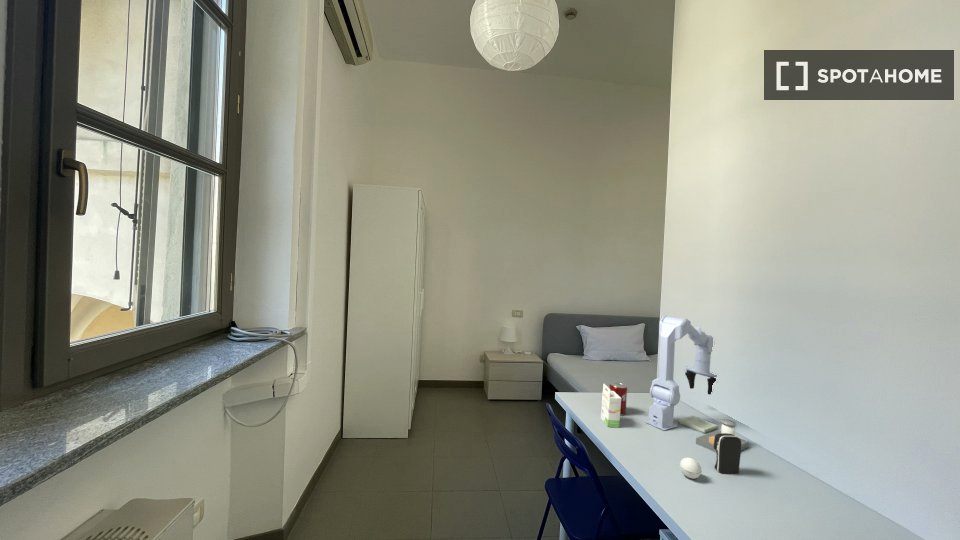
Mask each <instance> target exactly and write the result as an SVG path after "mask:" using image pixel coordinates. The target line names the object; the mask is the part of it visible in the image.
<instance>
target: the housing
mask: <svg viewBox="0 0 960 540" xmlns="http://www.w3.org/2000/svg"><path fill="white" fill-rule="evenodd" d="M719 433H721V430H719V429H716V430H713V431H710V432H707V433H705V434H703V435H701V436H697V437H696V439H695V444H696V445H699V446H702V447H703V448H705V449H707V450H710V451H712V452H714V453H716V450H715V449H714V444H712V443H710V442H709V437H711V436H715V435H716V434H719ZM738 438H739V439H740V440H741V451H742V450H743V451H744V450H745V449H747V448H749V441H747V440H745V439H742V438H740V437H738Z"/></svg>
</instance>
